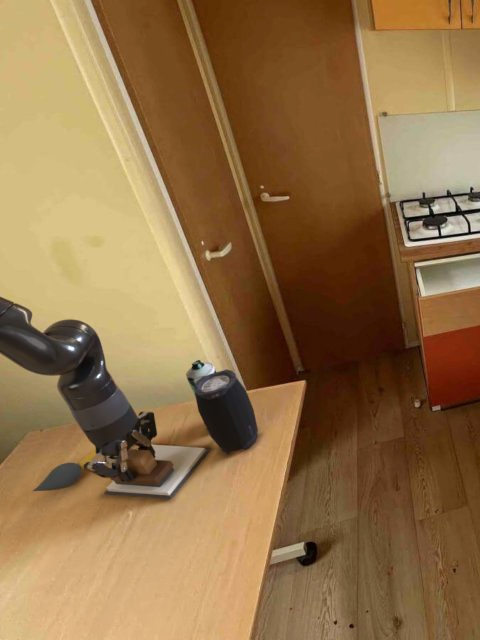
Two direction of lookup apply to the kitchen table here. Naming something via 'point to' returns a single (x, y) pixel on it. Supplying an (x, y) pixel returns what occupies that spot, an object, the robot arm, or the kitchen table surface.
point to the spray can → (199, 372)
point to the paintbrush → (66, 474)
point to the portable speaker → (226, 411)
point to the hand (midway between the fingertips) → (140, 468)
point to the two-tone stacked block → (146, 469)
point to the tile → (183, 468)
